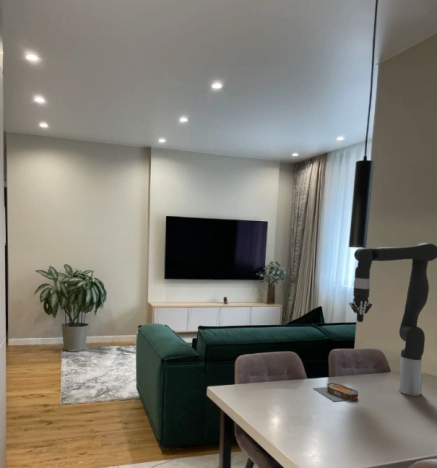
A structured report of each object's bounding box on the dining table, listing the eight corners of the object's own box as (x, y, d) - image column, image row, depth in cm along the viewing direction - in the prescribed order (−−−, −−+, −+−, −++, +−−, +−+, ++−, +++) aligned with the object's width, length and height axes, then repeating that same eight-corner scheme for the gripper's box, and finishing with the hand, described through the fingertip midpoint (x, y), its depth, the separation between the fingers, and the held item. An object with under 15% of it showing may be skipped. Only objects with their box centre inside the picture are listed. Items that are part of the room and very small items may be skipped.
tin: (362, 392, 173) (351, 394, 168) (361, 399, 173) (350, 401, 168) (334, 382, 185) (323, 383, 180) (333, 388, 185) (323, 390, 180)
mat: (333, 387, 186) (333, 386, 186) (355, 399, 171) (355, 399, 171) (313, 388, 182) (313, 388, 182) (333, 401, 167) (333, 401, 167)
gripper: (366, 287, 196) (365, 320, 195) (346, 286, 191) (344, 320, 190) (377, 288, 188) (375, 323, 188) (356, 287, 184) (354, 323, 183)
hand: (359, 321), depth 189 cm, fingers closed
